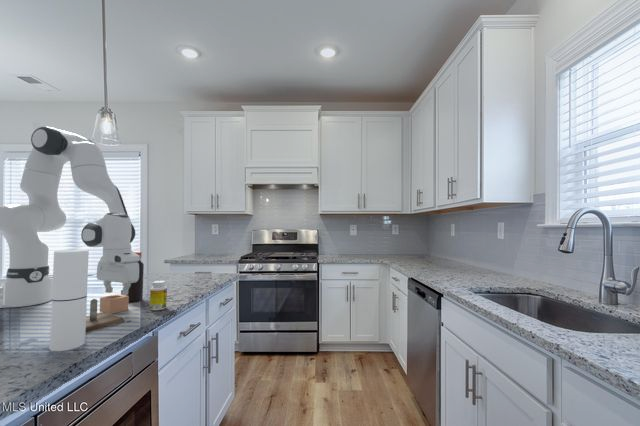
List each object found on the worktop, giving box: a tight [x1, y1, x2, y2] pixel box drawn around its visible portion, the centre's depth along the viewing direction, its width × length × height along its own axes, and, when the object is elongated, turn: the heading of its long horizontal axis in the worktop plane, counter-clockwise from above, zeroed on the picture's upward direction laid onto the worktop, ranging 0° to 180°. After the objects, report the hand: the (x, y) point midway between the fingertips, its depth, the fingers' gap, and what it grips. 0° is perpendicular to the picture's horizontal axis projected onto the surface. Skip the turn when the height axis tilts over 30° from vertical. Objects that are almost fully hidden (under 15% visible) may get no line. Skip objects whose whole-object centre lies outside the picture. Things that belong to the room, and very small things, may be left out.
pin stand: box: [85, 298, 125, 334], centre depth 95 cm, size 12×12×8 cm
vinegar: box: [126, 251, 145, 303], centre depth 125 cm, size 7×7×20 cm
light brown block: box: [99, 293, 130, 315], centre depth 110 cm, size 6×6×5 cm
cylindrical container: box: [49, 249, 90, 352], centre depth 79 cm, size 7×7×25 cm
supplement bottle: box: [149, 280, 168, 311], centre depth 113 cm, size 6×6×10 cm
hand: (116, 293), depth 110 cm, fingers open, 8 cm apart
